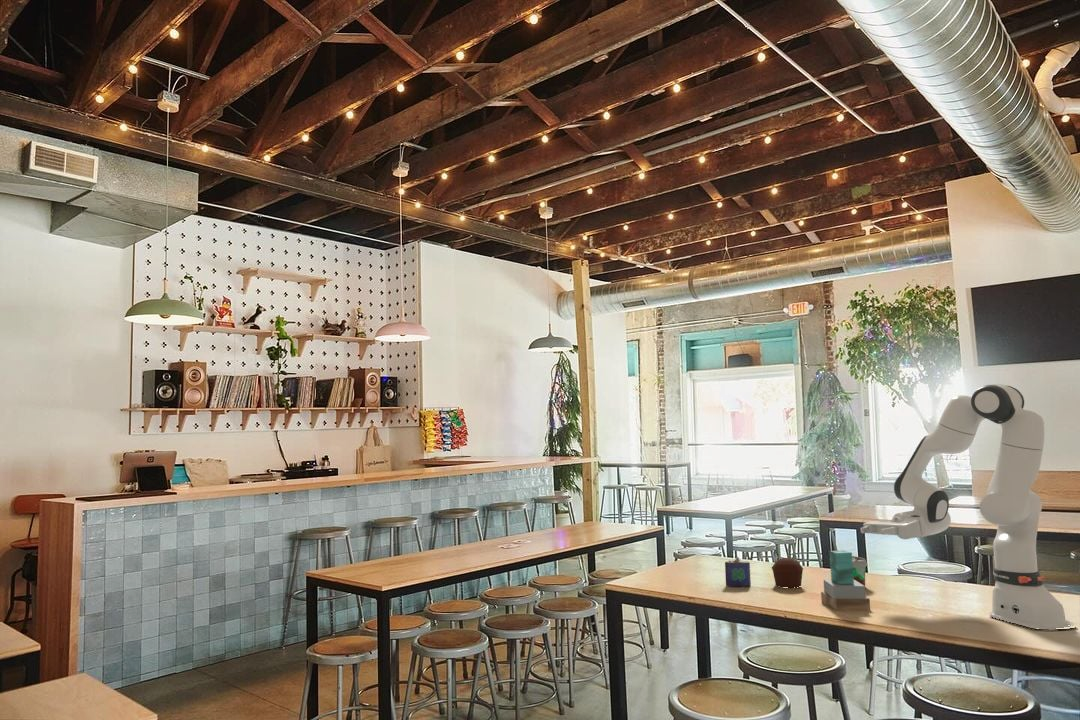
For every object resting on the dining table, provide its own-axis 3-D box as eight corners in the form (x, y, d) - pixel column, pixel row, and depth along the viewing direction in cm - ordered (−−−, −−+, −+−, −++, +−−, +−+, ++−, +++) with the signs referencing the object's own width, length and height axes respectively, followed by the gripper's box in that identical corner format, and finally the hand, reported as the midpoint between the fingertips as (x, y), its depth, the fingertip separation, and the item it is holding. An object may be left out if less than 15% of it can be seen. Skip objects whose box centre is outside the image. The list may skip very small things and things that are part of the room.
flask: (749, 585, 268) (748, 556, 269) (751, 587, 265) (750, 557, 266) (725, 585, 268) (723, 556, 269) (726, 587, 266) (725, 558, 266)
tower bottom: (870, 611, 231) (869, 598, 231) (837, 612, 230) (836, 599, 230) (853, 602, 242) (852, 590, 242) (821, 603, 241) (821, 591, 241)
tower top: (865, 598, 231) (865, 586, 231) (834, 598, 231) (833, 586, 232) (854, 591, 241) (853, 579, 241) (824, 591, 241) (823, 579, 242)
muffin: (775, 581, 273) (773, 555, 274) (805, 583, 268) (804, 556, 269) (770, 588, 263) (769, 560, 264) (802, 590, 258) (800, 562, 259)
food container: (872, 590, 256) (870, 562, 257) (854, 590, 258) (852, 561, 258) (864, 582, 268) (862, 555, 269) (846, 582, 270) (845, 555, 270)
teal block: (853, 583, 234) (851, 552, 235) (839, 584, 233) (837, 553, 235) (845, 580, 239) (843, 550, 240) (831, 581, 238) (829, 551, 240)
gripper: (881, 515, 252) (849, 520, 248) (926, 516, 232) (892, 522, 228) (885, 533, 251) (852, 539, 247) (930, 536, 231) (896, 542, 227)
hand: (871, 531), depth 237 cm, fingers open, 8 cm apart
